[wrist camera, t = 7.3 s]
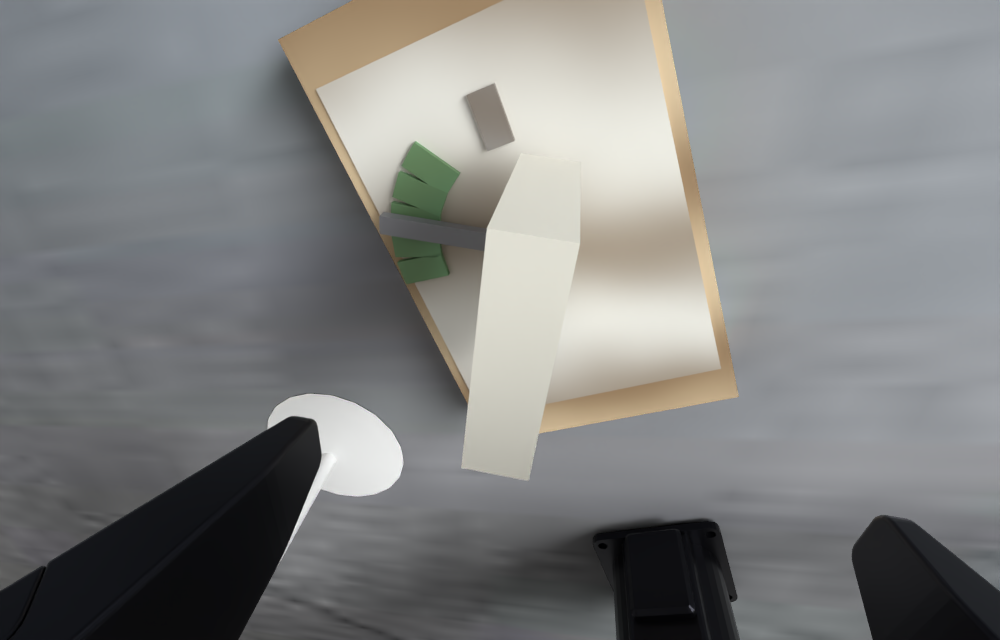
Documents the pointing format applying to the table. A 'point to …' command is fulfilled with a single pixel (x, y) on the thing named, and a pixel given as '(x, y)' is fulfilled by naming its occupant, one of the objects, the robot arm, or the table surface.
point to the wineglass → (345, 447)
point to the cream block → (514, 306)
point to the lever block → (493, 156)
